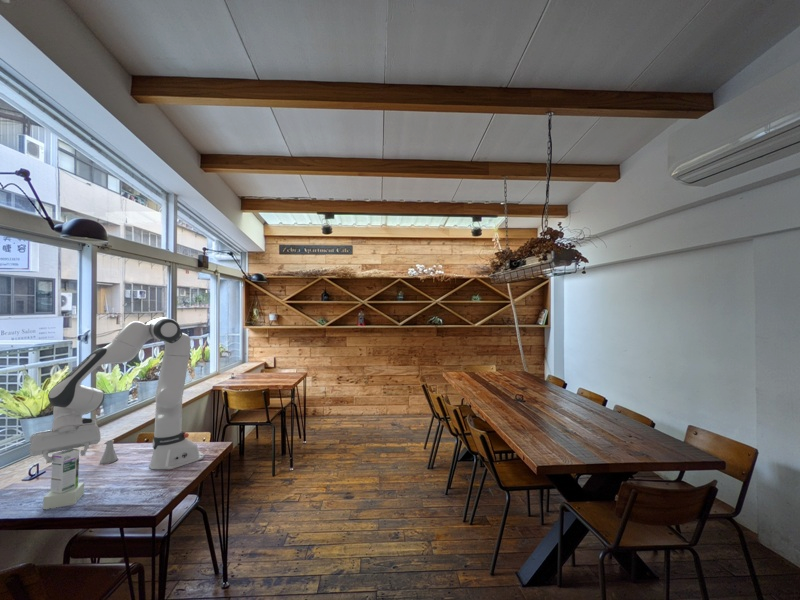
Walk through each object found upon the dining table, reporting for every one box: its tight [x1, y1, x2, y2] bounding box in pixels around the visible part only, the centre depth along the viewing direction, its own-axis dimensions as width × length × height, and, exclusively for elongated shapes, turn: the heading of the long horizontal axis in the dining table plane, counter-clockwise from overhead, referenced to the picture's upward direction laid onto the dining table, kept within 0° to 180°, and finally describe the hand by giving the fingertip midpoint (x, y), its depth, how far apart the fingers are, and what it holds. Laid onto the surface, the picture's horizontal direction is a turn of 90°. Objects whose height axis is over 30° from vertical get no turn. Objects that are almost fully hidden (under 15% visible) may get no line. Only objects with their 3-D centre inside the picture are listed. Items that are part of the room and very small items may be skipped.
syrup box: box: [50, 448, 80, 494], centre depth 133 cm, size 6×6×14 cm
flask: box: [99, 439, 119, 465], centre depth 170 cm, size 7×7×10 cm
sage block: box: [42, 482, 85, 510], centre depth 133 cm, size 9×9×5 cm
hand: (66, 458), depth 133 cm, fingers open, 8 cm apart
